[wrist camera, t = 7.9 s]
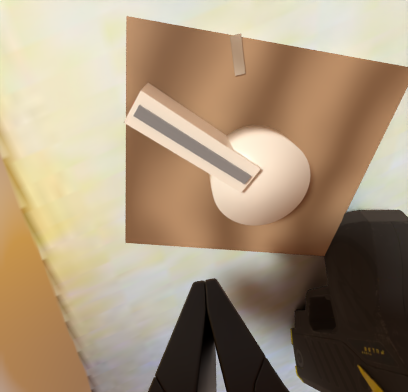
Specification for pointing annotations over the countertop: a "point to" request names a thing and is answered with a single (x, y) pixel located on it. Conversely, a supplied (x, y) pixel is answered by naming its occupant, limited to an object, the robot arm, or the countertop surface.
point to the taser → (358, 309)
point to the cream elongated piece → (228, 158)
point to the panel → (247, 116)
